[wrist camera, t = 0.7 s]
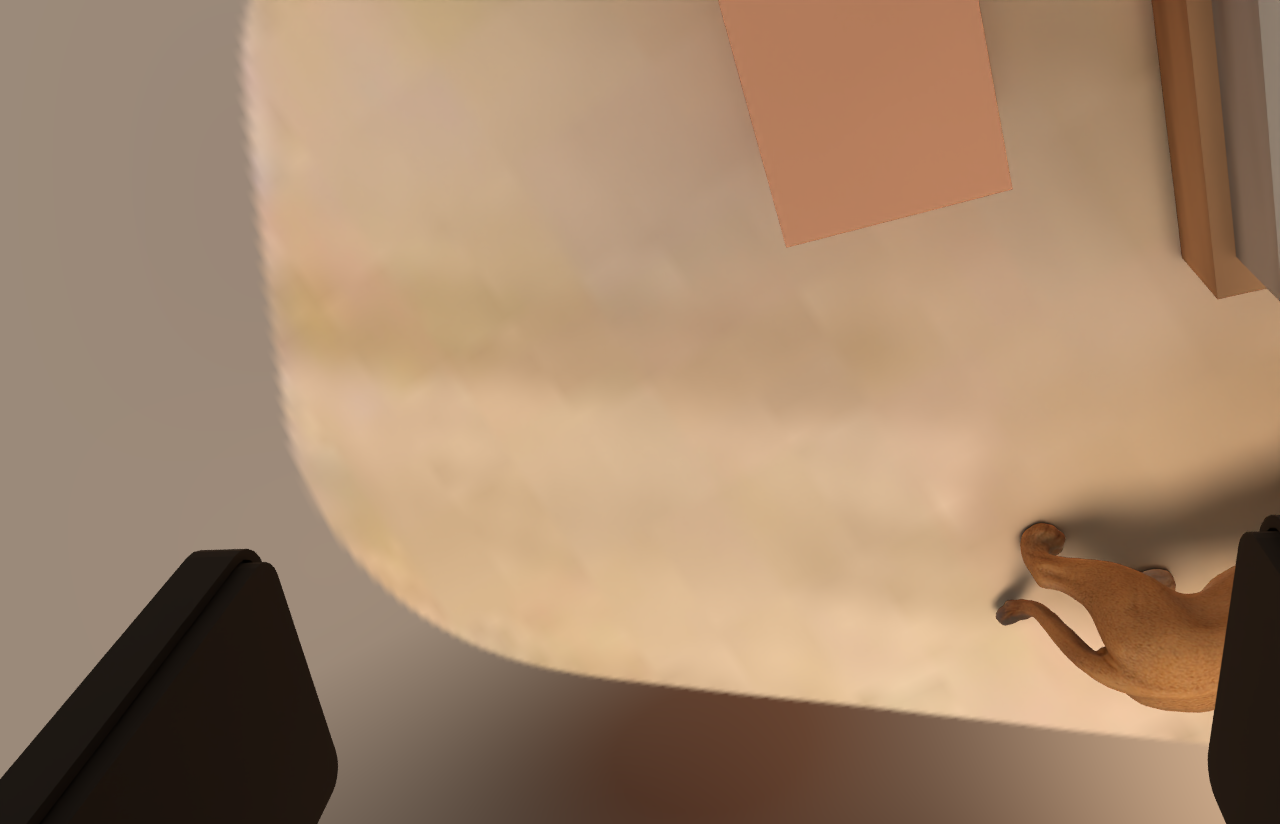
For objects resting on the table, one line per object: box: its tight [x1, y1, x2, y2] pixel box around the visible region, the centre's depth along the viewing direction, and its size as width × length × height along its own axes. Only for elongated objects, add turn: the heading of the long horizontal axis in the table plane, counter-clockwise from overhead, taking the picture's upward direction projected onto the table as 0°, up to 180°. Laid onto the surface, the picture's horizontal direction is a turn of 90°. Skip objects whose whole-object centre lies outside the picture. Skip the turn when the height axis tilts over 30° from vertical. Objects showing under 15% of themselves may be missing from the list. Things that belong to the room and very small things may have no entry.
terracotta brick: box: [718, 0, 1012, 248], centre depth 25 cm, size 5×8×6 cm, turn 18°
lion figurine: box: [996, 523, 1235, 712], centre depth 29 cm, size 15×5×9 cm, turn 126°
